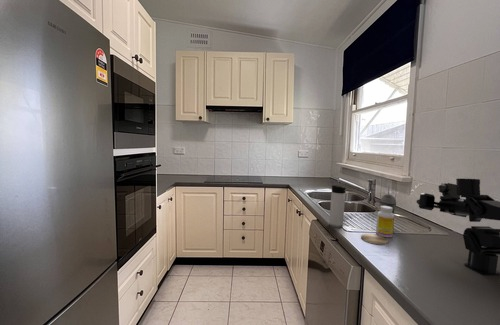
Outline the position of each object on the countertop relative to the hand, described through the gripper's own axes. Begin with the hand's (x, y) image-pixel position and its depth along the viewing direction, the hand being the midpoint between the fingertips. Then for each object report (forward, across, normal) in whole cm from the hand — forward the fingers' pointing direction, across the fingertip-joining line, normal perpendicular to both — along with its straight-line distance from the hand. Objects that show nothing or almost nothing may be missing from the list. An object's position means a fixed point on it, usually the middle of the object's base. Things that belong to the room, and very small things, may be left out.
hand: (427, 203), depth 105 cm
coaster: (+2, +20, +19) cm, 28 cm away
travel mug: (+18, +30, +18) cm, 39 cm away
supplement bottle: (+7, +12, +17) cm, 23 cm away
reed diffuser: (+20, +3, +13) cm, 24 cm away
